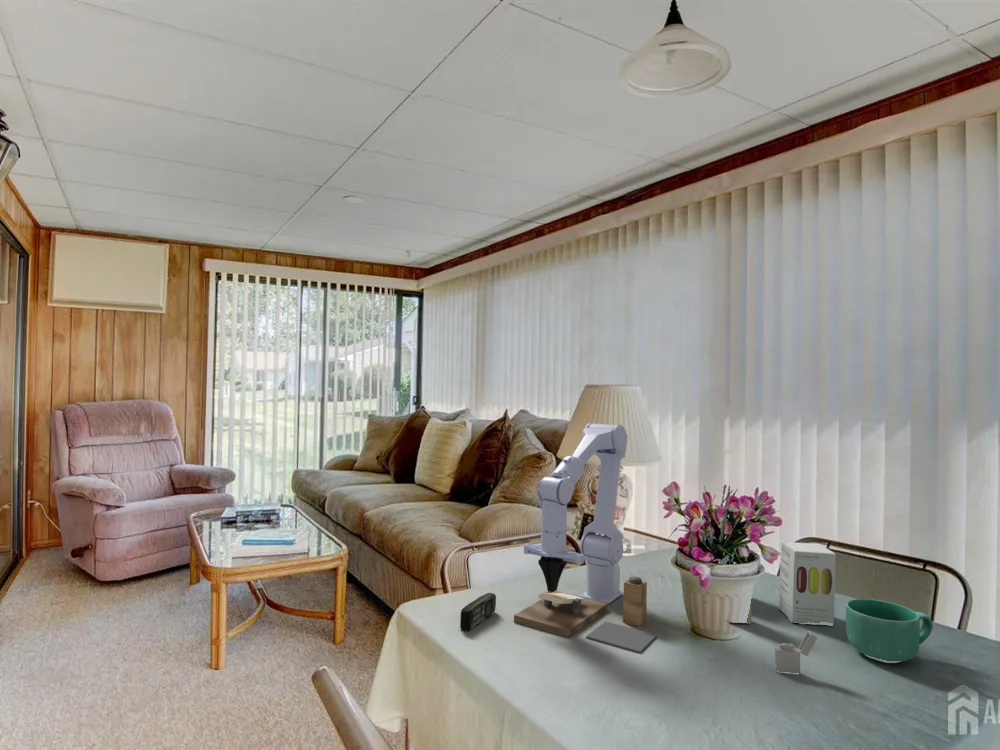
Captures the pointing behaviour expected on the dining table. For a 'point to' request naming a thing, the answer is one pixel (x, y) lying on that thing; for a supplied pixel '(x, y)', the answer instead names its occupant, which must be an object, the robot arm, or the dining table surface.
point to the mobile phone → (477, 611)
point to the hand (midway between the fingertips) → (552, 590)
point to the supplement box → (807, 582)
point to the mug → (885, 629)
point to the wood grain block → (634, 601)
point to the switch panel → (561, 615)
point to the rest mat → (622, 636)
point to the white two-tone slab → (560, 597)
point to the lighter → (793, 654)
